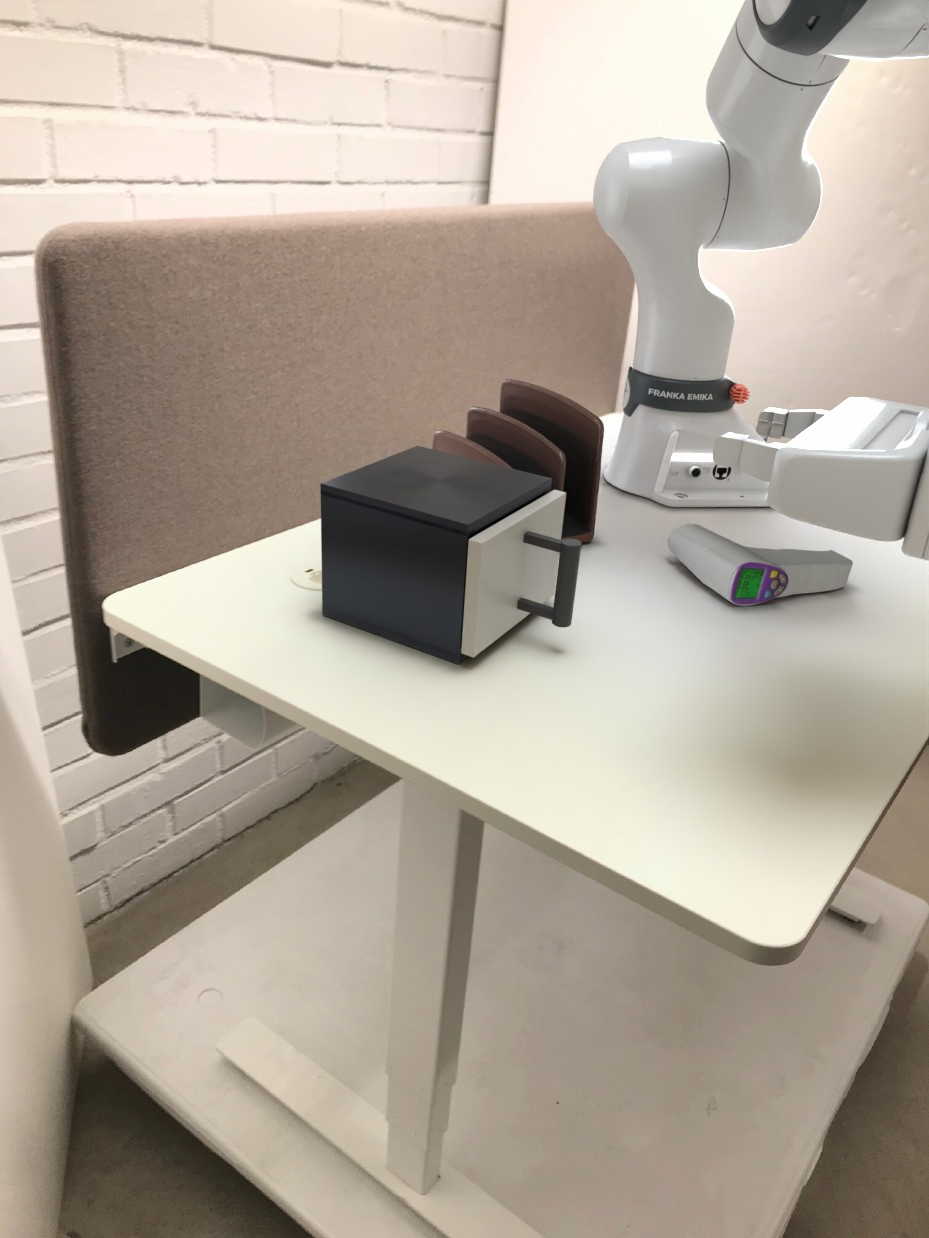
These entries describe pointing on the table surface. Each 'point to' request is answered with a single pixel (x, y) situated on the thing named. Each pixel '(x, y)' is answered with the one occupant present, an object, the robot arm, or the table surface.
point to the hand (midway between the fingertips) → (739, 433)
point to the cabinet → (412, 542)
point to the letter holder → (539, 446)
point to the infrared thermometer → (755, 567)
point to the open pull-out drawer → (519, 573)
